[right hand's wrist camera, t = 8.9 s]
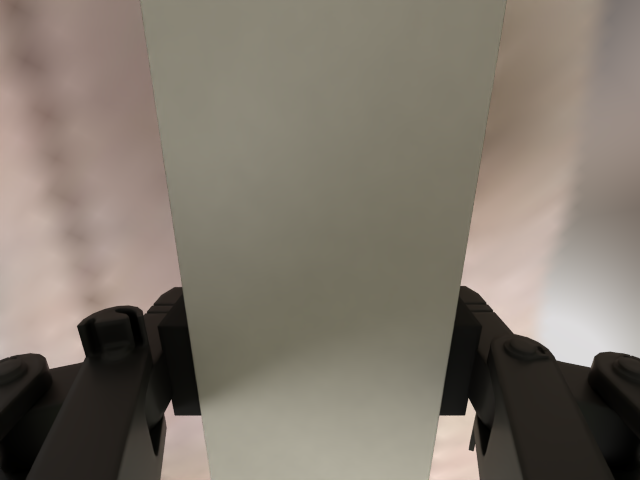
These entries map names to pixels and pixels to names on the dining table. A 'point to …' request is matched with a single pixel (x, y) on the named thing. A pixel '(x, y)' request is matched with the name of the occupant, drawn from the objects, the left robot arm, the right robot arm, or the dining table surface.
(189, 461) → the dining table surface
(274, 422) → the post
